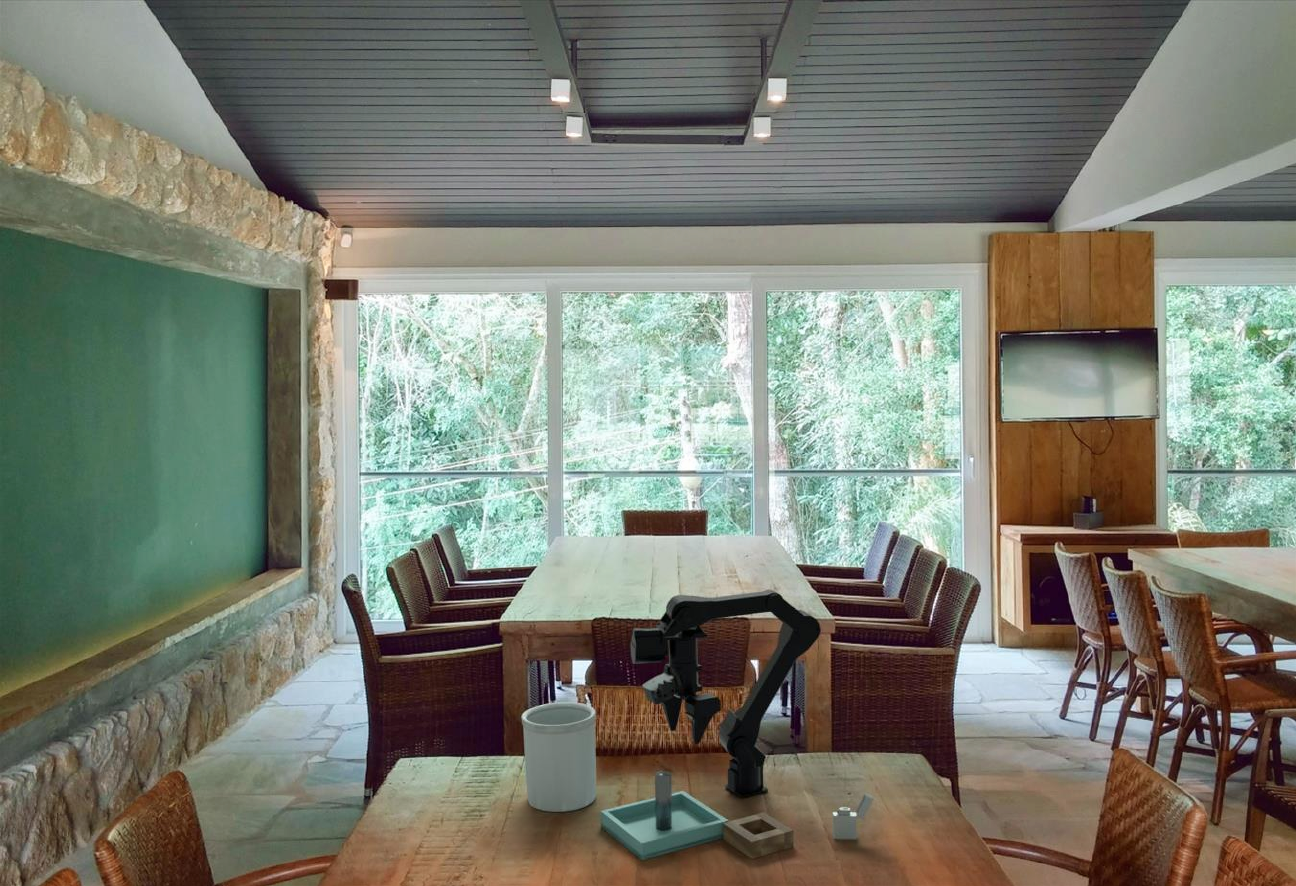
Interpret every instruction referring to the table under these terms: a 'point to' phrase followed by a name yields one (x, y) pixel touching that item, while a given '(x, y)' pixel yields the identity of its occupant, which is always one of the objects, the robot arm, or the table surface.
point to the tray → (645, 841)
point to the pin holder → (758, 835)
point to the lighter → (849, 819)
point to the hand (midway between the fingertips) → (684, 737)
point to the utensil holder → (560, 756)
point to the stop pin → (663, 800)
